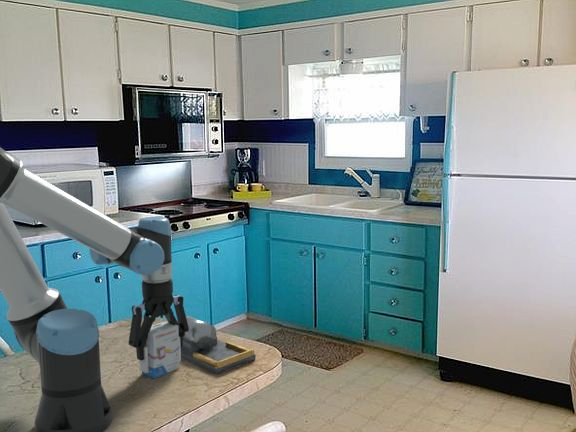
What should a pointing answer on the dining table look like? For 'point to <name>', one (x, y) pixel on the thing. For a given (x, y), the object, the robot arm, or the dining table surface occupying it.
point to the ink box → (162, 349)
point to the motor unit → (211, 348)
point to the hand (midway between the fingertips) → (161, 365)
